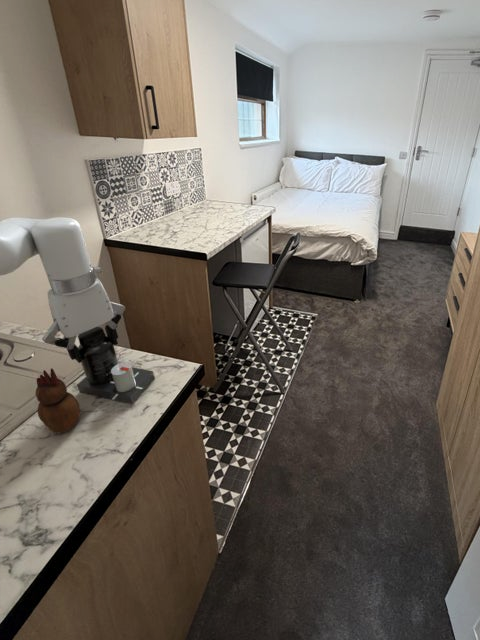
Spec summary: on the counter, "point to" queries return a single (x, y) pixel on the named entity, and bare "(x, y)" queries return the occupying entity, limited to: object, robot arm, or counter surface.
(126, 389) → the hob knob
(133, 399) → the hob
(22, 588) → the counter surface
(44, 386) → the wooden figurine
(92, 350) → the supplement bottle
